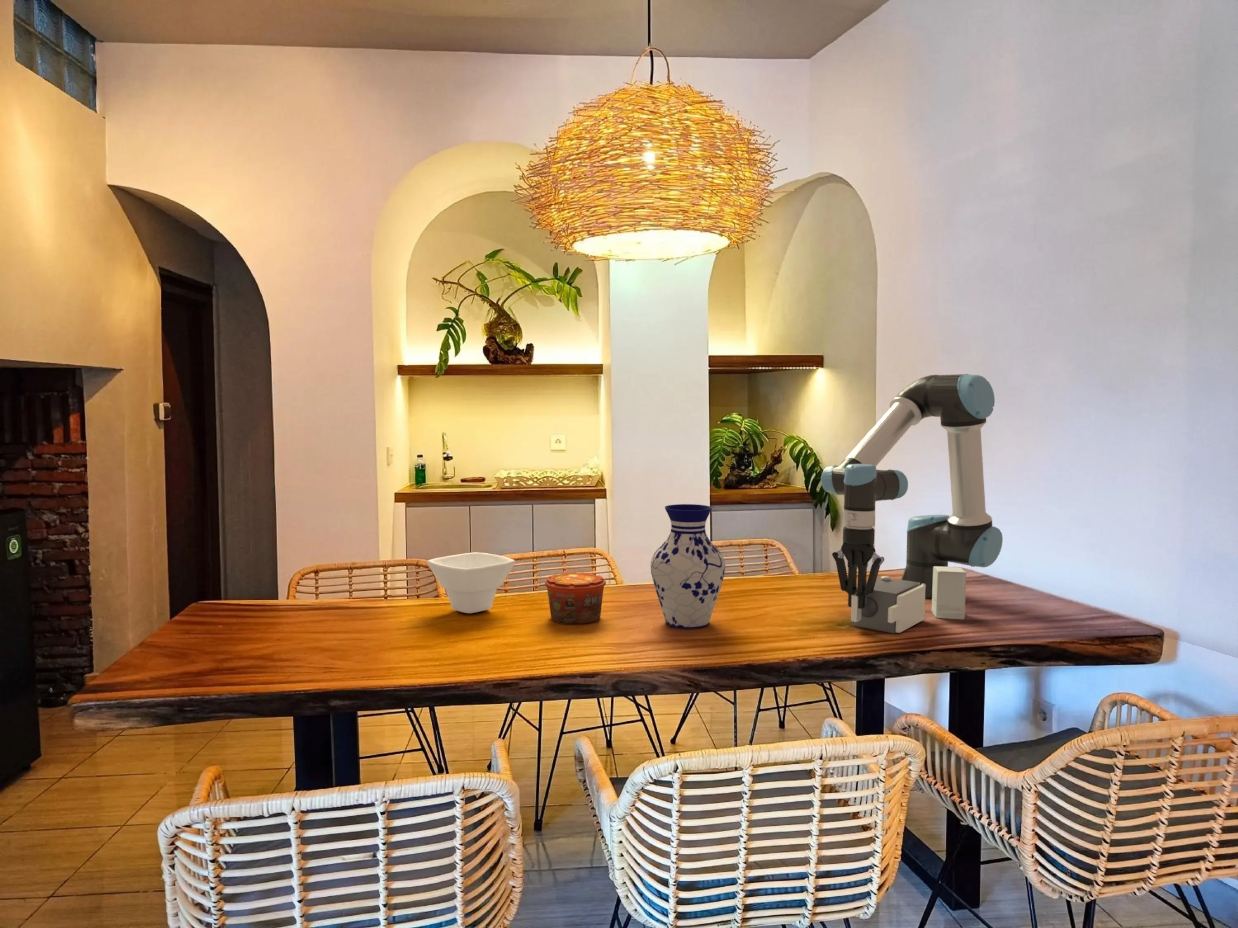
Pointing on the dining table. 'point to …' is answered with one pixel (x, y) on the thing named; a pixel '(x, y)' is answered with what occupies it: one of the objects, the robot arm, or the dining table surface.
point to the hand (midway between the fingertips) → (856, 620)
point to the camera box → (882, 603)
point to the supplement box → (948, 592)
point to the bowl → (471, 578)
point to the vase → (687, 569)
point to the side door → (908, 608)
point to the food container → (575, 597)
